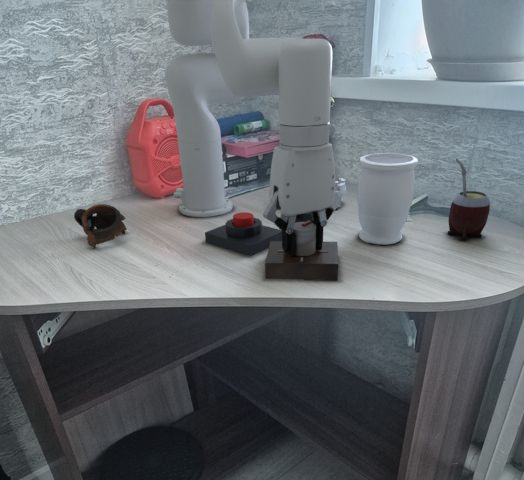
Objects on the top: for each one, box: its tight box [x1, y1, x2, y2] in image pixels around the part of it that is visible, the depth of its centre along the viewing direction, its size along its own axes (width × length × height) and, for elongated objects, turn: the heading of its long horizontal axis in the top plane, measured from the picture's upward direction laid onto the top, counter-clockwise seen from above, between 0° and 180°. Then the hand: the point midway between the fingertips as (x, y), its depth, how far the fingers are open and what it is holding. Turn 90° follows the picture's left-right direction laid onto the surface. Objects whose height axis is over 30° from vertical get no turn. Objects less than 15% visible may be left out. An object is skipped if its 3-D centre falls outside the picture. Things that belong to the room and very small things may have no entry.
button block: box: [204, 217, 282, 257], centre depth 95 cm, size 12×10×4 cm
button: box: [232, 211, 255, 227], centre depth 93 cm, size 4×4×2 cm
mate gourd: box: [447, 158, 491, 242], centre depth 90 cm, size 8×8×15 cm
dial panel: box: [264, 241, 339, 282], centre depth 83 cm, size 12×10×3 cm
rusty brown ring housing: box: [73, 203, 128, 249], centre depth 98 cm, size 12×10×8 cm
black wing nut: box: [295, 212, 313, 223], centre depth 103 cm, size 8×10×3 cm
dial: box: [293, 220, 316, 256], centre depth 81 cm, size 4×4×5 cm
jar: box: [356, 152, 419, 246], centre depth 91 cm, size 11×10×15 cm
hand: (302, 249), depth 82 cm, fingers closed on dial, 4 cm apart
